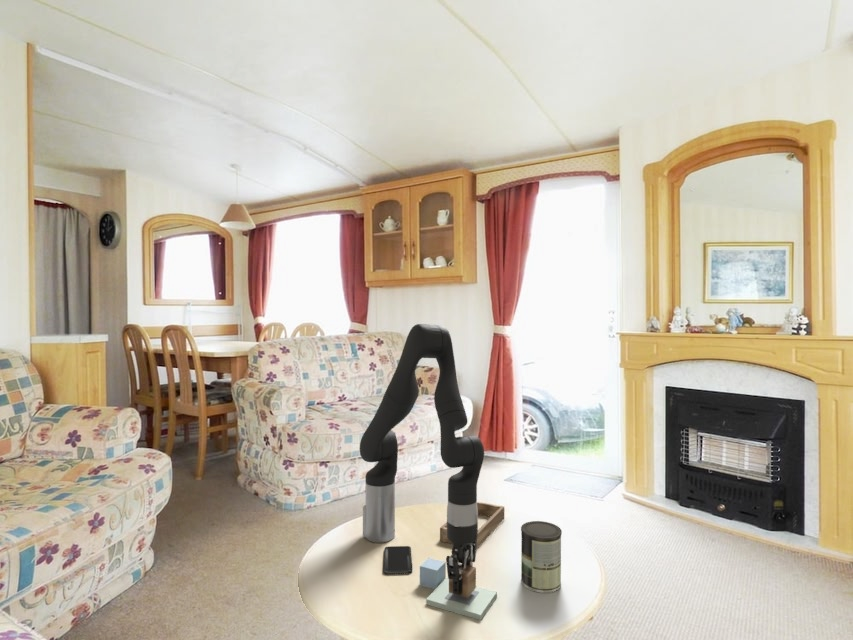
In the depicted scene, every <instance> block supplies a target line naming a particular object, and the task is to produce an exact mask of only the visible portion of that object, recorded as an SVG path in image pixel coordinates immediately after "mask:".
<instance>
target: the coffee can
mask: <svg viewBox="0 0 853 640" xmlns="http://www.w3.org/2000/svg"><path fill="white" fill-rule="evenodd" d="M520 531H521V537H520V538H521V554H520V555H521V558H520V559H521V561H520V562H521V565H520V566H521V573H520V574H521V575H520V577H521V579H520V581H521V584H522V585H523V586H524V588H526V589H527V588H528V590H529V589H530V591H532V592H535V593H539V592H540V593H541V594H550V592H551V593H554V591H555V592H557V591H558V590H560V589H559V588H561V587H562V581H561V579H562V577H561V574H562V569H561V568H562V533H563V532H562V529H561V527H560V526H559V525H556V524H554V523H552V522H547V521H540V520H532V521H528V522H527V521H526V522H525V523H523V524H522V525H521V526H520ZM556 590H557V591H556ZM540 593H539V594H540Z"/></svg>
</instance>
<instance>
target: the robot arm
mask: <svg viewBox="0 0 853 640" xmlns="http://www.w3.org/2000/svg"><path fill="white" fill-rule="evenodd" d="M422 359H435V360H436V362H437V365H438V367H439V368H438V369H439V374H438V375H439V376H438V381H437V383H436V386H435V390H434V395H433V401H434V407H435V410H436V414H437V418H438V421H439V428H440V448H439V449H440V457H441V460H442V462H443V463H444V465H445V466H446V467H448V468H452V469H455V468H462V469H461V470H460V471H459V472H457V473H455V474H453V475H451V476H450V477H449V478H448V482H447V506H446V522H447V538H448V539H449V540H450V541H451V542H452V543H453V544H452V543H451V544H452V546H451V551H450V552H451V553H450V554H451V555H447V556H446V558H445V562H446V571H447V572H446V573H447V579H452V580H453V593H454V594H457V595H461V594H462V577H463V570H464V569H465V568H466V565H468V566H472V567H474V565H473V564H474V563H475V562H476V555H477V549H476V546H477V538H478V530H479V528H478V527H479V522H478V521H479V520H478V519H479V518H478V517H479V514H478V508H477V502H478V501H477V500H478V499H477V498H478V494H477V493H478V492H477V491H478V480H479V478H480V473H481V469H482V466H483V463H484V458H485V448H484V444H483V442H482V440H481V439H480V437H478V436H476V435H465V436H456V434H455V433H456V431H459V430H462V429H463V428H465V427H466V426H467V425H468V416H467V413H466V410H465V406H464V404H463V400H462V397H461V392H460V389H459V384H458V377H457V371H456V362H455V361H456V360H455V353H454V346H453V340H452V337H451V334H450V332H449V329H448V328H447V327H446V326H443V325H439V324H438V325H437V324H426V323H416V324H415V325H413V326H412V327H411V329H410V331H409V332H408V335H407V337H406V340H405V342H404V346H403V349H402V352H401V356H400V357H399V361H398V363H397V366H396V368H395V371H394V373H393V375H392V376H391V377H392V378H391V380H390V382H389V384H388V386H387V387H386V389H385V392H384V394H383V396H382V397H383V398H382V399H381V402H380V404H379V406H378V407H377V410H376V412H375V414H374V416H373V418H372V419H371V421H370V423H369V424H368V426H367V427H366V430H365V431H364V433H363V435H362V436H361V439H360V442H359V454H360V455H359V456H360V457H361V458H362V459H363V461H365V462H366V463H376V464H375V465H374V466H373V467H372V468H370V469H369V470H368V471H367V472H366V474H365V505H363V506H362V537H363V538H365V539H366V540H367V541H369V542H371V543H386V542H387V543H388V542H389V541H392V540H393V539H395V537H396V534H395V533H396V528H395V527H396V526H395V525H396V522H395V521H396V475H397V473H398V456H399V455H398V454H399V453H398V452H399V442H398V439H397V438H398V437H397V435H396V433H395V432H394V431H393V430H392V429H394V428H395V427H396V426H397V425H398V424H400V423H401V422H402V421H403V420H405V419H406V418H407V417H408V415H409V414H410V413H411V411H412V409H413V408H414V406H415V403H416V402H417V400H418V398H419V392H420V388H419V382H418V380H417V376H416V371H417V370H416V369H417V367H418V364H419V362H420V361H421V360H422ZM458 563H460V564H462V565H458ZM459 569H460V572H459Z"/></svg>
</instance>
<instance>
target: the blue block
mask: <svg viewBox="0 0 853 640" xmlns="http://www.w3.org/2000/svg"><path fill="white" fill-rule="evenodd" d="M446 571H447V563H446V561H443V560H439V559H435V558H430V557H428V558H427V559H425V561H423V562H422V563H421V564H420V565H419V586H422V587H426V588H430V589H433V590H435V589H436V588H437V587H438V586H439V585H440V584H441V583H442V582H443V581H444V579H445V578H447V577H446V573H447V572H446Z"/></svg>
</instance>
